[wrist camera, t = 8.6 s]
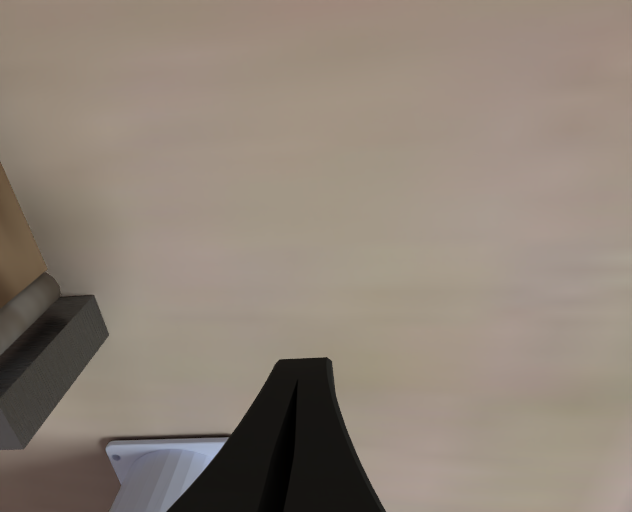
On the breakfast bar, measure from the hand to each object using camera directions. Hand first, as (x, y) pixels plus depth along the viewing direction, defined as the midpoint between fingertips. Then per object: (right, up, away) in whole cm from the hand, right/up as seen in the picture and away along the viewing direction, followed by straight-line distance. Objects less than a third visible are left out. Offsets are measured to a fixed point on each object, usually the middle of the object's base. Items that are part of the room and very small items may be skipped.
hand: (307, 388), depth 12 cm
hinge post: (-12, 0, +11) cm, 16 cm away
